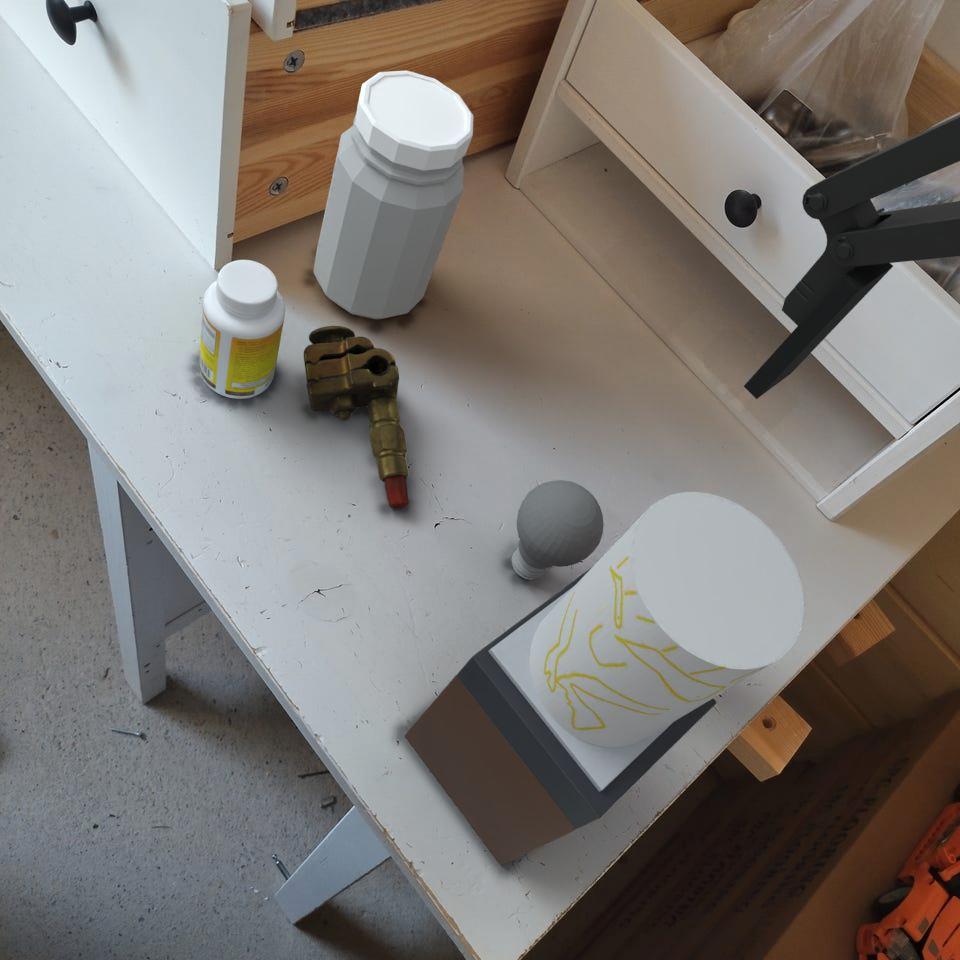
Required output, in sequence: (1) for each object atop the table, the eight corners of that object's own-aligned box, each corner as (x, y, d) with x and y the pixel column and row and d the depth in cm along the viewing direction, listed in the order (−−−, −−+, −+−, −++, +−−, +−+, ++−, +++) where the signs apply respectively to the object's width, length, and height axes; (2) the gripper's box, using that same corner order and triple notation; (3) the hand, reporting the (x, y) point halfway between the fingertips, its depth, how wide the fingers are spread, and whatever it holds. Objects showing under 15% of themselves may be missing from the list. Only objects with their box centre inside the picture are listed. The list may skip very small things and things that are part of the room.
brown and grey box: (604, 768, 61) (721, 700, 49) (500, 866, 56) (602, 817, 43) (512, 652, 63) (601, 559, 51) (404, 735, 58) (473, 653, 46)
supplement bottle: (287, 367, 70) (305, 278, 62) (248, 414, 67) (262, 326, 59) (225, 332, 70) (235, 237, 62) (183, 377, 67) (187, 284, 58)
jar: (432, 328, 77) (499, 162, 62) (320, 326, 73) (362, 150, 59) (410, 243, 81) (467, 70, 67) (302, 238, 78) (338, 53, 63)
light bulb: (473, 545, 67) (518, 477, 59) (537, 521, 70) (588, 453, 62) (512, 614, 65) (563, 554, 57) (576, 586, 68) (634, 526, 60)
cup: (498, 654, 46) (592, 552, 36) (598, 572, 50) (705, 462, 41) (605, 781, 44) (734, 709, 35) (698, 685, 49) (836, 597, 39)
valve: (344, 531, 68) (339, 517, 63) (297, 355, 71) (289, 328, 66) (432, 508, 69) (434, 492, 64) (382, 335, 72) (380, 307, 67)
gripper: (1032, -325, 19) (619, 317, 37) (2302, 533, 14) (1108, 816, 31) (1138, -314, 23) (722, 259, 41) (2151, 351, 18) (1170, 690, 35)
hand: (888, 500), depth 36 cm, fingers open, 13 cm apart
